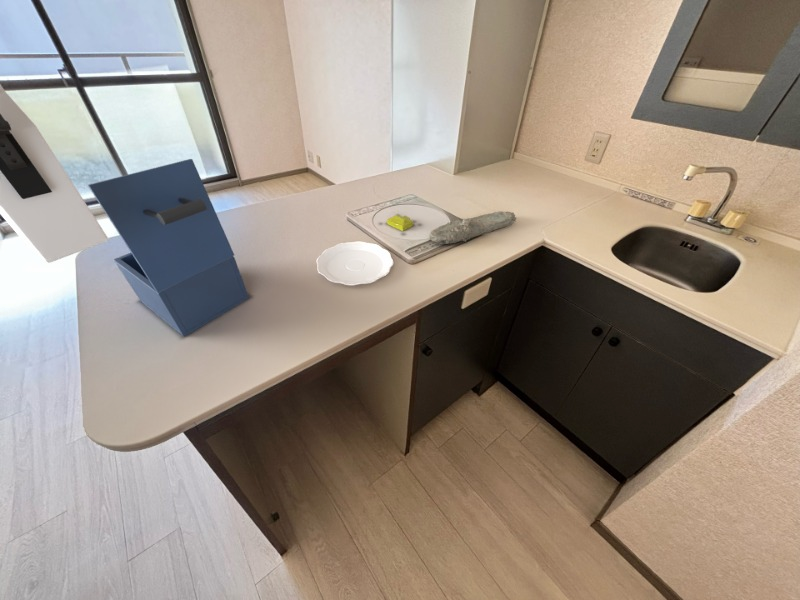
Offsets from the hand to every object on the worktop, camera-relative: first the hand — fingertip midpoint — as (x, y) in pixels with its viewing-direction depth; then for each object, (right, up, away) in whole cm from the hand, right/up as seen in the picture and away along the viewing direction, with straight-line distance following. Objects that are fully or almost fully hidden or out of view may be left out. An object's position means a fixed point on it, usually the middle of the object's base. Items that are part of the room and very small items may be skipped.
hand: (26, 185), depth 40 cm
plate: (+34, -5, +50) cm, 61 cm away
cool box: (-3, -14, +38) cm, 40 cm away
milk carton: (0, -6, +6) cm, 9 cm away
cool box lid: (+4, 0, +20) cm, 20 cm away
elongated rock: (+71, +9, +68) cm, 98 cm away
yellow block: (+47, +11, +70) cm, 85 cm away
